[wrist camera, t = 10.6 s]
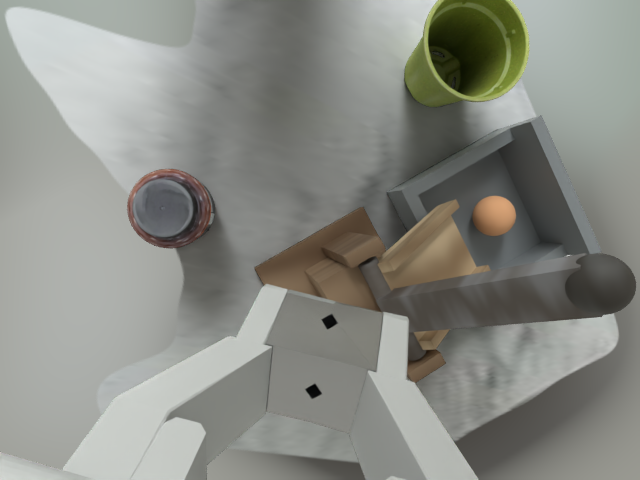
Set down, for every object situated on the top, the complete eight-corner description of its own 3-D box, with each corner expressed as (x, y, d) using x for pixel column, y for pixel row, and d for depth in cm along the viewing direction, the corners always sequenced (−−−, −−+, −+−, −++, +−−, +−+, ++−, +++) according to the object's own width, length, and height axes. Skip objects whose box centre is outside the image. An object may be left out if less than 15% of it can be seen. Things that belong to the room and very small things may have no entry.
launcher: (345, 276, 32) (594, 216, 20) (429, 204, 42) (635, 131, 29) (396, 370, 34) (662, 371, 21) (467, 280, 43) (681, 242, 30)
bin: (386, 192, 44) (414, 188, 37) (495, 130, 45) (541, 115, 38) (447, 309, 46) (483, 326, 39) (549, 245, 47) (601, 251, 40)
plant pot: (398, 17, 43) (437, -32, 34) (483, 43, 44) (540, 3, 36) (379, 110, 43) (413, 84, 34) (464, 132, 45) (517, 113, 36)
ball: (484, 192, 45) (457, 210, 44) (514, 185, 41) (486, 205, 40) (500, 225, 46) (474, 244, 44) (531, 221, 42) (504, 242, 40)
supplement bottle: (157, 247, 40) (125, 260, 29) (142, 183, 39) (104, 172, 28) (222, 234, 41) (215, 242, 30) (208, 172, 40) (196, 156, 29)
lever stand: (254, 267, 42) (259, 286, 31) (359, 207, 43) (399, 205, 32) (323, 386, 44) (350, 443, 33) (421, 325, 45) (478, 360, 34)
